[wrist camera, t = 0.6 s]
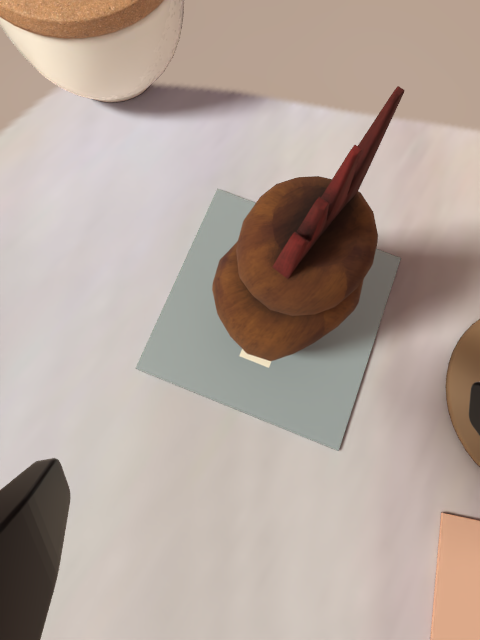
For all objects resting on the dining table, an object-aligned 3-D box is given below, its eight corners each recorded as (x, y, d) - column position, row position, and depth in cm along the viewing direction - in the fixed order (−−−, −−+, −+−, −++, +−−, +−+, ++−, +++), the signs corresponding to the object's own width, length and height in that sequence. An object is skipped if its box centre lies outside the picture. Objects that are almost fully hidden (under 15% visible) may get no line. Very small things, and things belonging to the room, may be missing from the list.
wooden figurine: (296, 243, 24) (401, -6, 10) (349, 323, 23) (554, 179, 9) (198, 297, 24) (153, 111, 9) (249, 384, 23) (294, 334, 8)
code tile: (337, 450, 22) (338, 450, 22) (136, 368, 23) (135, 368, 22) (399, 259, 25) (401, 258, 24) (217, 190, 25) (217, 188, 25)
